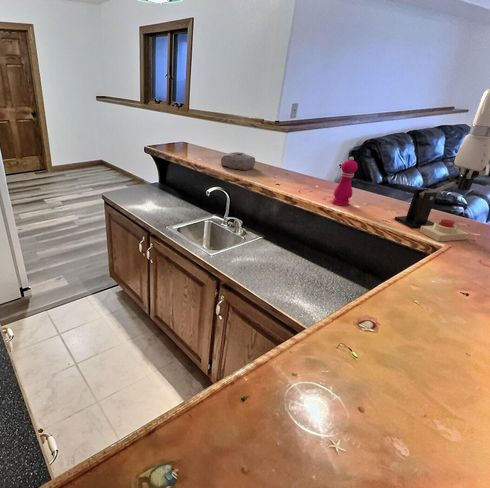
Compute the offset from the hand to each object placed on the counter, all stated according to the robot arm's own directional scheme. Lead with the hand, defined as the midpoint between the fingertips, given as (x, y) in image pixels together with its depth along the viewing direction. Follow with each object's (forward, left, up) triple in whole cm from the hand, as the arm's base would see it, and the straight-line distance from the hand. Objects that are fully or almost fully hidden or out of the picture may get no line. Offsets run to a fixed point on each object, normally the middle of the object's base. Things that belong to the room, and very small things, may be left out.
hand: (463, 189), depth 115 cm
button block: (+1, 0, -17) cm, 16 cm away
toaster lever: (-3, -11, -4) cm, 12 cm away
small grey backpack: (+41, -102, -17) cm, 111 cm away
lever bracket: (+2, -11, -17) cm, 20 cm away
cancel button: (+1, 0, -13) cm, 13 cm away
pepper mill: (+17, -35, -17) cm, 42 cm away
